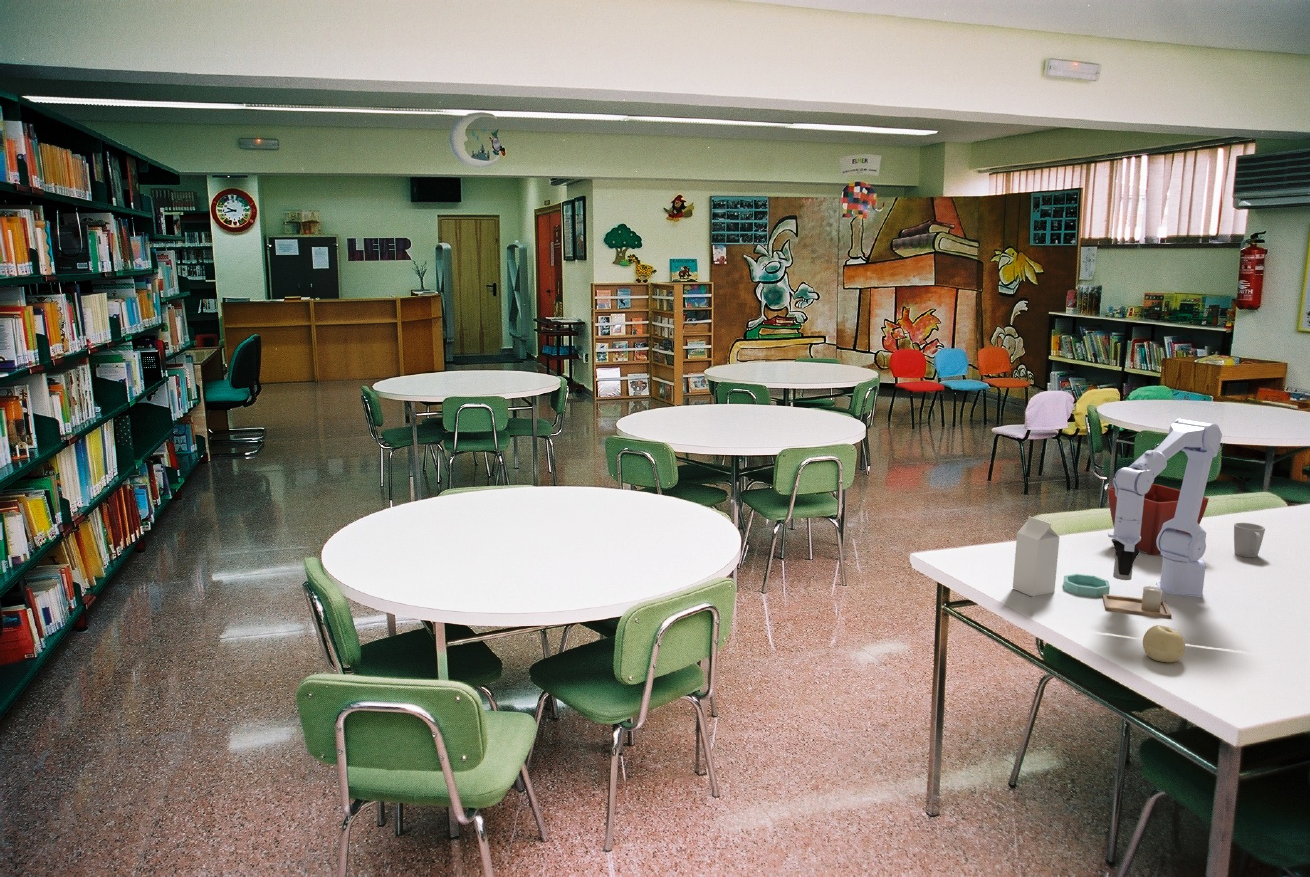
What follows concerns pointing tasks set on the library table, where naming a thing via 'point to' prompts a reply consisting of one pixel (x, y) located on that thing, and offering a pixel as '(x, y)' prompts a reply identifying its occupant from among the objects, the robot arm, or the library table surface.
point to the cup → (1248, 539)
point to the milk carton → (1036, 558)
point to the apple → (1163, 644)
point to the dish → (1086, 585)
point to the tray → (1132, 606)
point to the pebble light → (1151, 599)
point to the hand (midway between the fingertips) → (1122, 571)
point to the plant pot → (1155, 514)
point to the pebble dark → (1116, 572)
